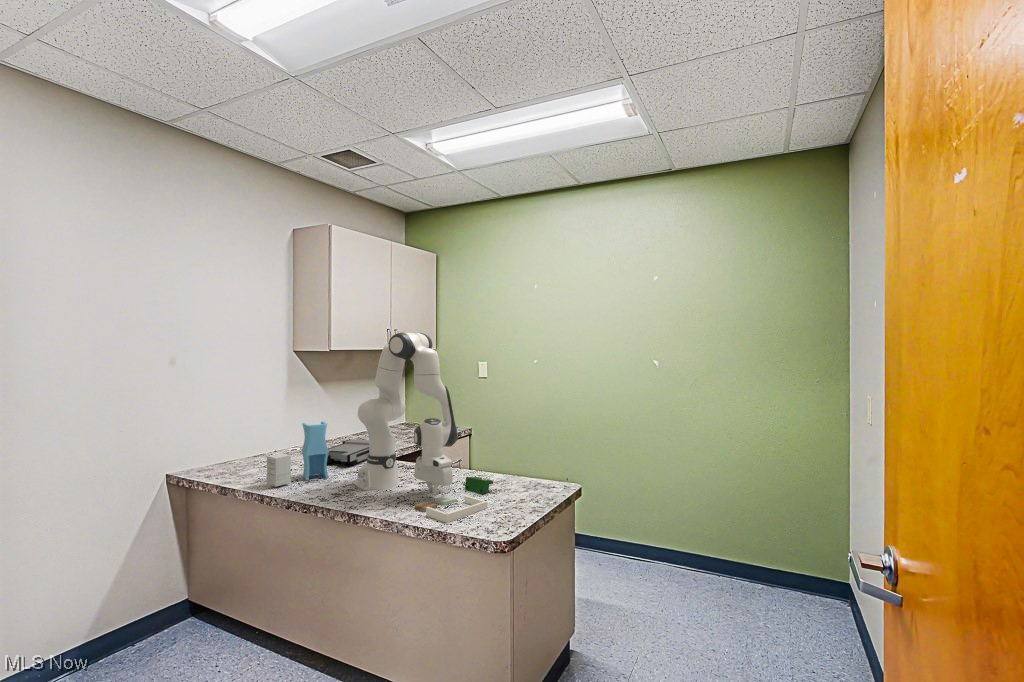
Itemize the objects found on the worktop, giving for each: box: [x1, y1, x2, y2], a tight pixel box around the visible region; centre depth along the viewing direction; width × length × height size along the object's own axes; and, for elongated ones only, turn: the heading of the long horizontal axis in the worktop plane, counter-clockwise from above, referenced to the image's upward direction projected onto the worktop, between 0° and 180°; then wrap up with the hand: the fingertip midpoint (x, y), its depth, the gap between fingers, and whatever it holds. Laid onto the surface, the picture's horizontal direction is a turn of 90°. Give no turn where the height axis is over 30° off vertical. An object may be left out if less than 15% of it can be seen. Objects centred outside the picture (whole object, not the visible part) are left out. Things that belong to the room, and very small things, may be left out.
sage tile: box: [435, 495, 458, 506], centre depth 201 cm, size 6×6×2 cm
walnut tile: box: [414, 500, 438, 513], centre depth 194 cm, size 6×6×2 cm
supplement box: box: [266, 452, 292, 487], centre depth 228 cm, size 7×7×13 cm
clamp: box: [464, 476, 494, 495], centre depth 216 cm, size 12×6×9 cm, turn 44°
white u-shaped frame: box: [425, 495, 488, 524], centre depth 189 cm, size 12×20×3 cm, turn 138°
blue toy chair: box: [301, 421, 329, 481], centre depth 241 cm, size 10×10×25 cm
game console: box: [327, 438, 369, 467], centre depth 274 cm, size 21×32×8 cm, turn 165°
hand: (432, 493), depth 207 cm, fingers closed
